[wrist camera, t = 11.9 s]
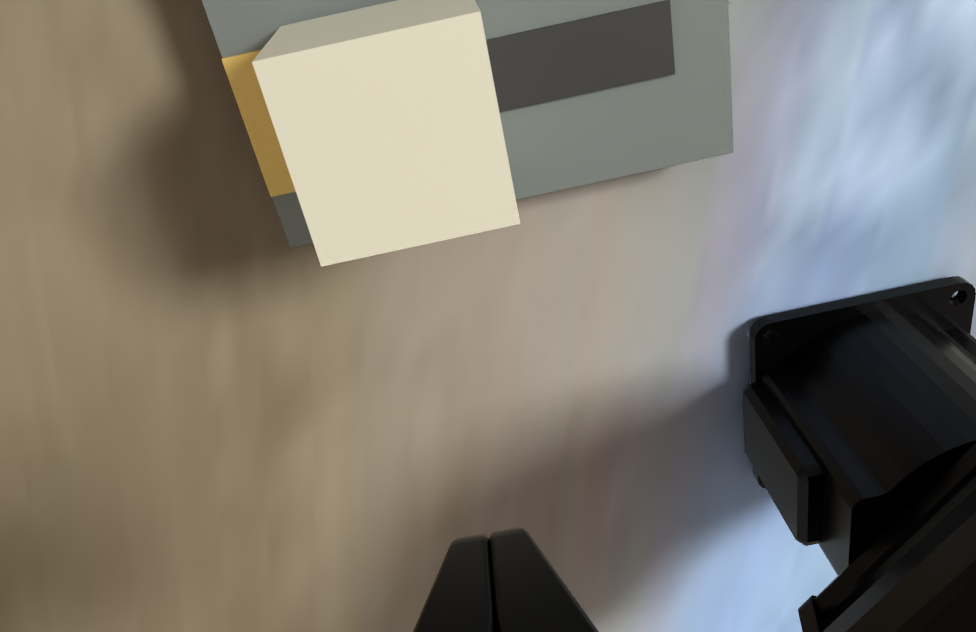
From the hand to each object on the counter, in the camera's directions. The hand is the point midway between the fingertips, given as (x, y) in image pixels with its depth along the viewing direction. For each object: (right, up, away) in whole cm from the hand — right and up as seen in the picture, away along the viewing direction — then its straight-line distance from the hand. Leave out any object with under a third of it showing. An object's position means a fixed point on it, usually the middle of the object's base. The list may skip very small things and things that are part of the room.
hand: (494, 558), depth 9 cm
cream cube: (-2, +8, +8) cm, 11 cm away
